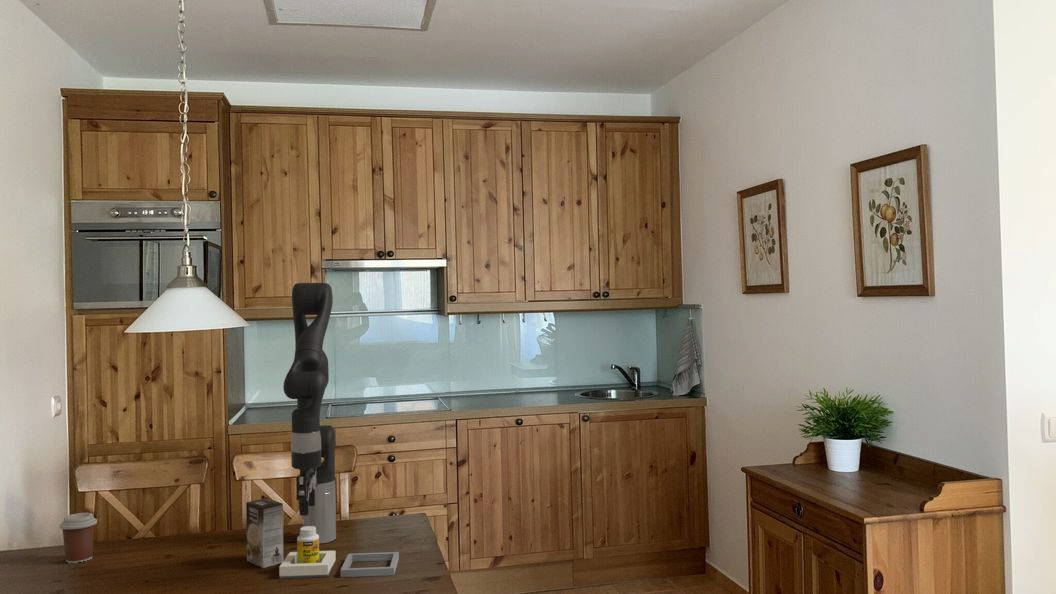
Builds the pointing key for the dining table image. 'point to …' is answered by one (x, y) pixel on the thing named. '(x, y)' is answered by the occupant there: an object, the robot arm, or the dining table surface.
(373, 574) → the tray
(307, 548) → the supplement bottle
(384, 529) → the dining table surface
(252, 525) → the coffee box
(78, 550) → the coffee cup
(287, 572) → the holder
